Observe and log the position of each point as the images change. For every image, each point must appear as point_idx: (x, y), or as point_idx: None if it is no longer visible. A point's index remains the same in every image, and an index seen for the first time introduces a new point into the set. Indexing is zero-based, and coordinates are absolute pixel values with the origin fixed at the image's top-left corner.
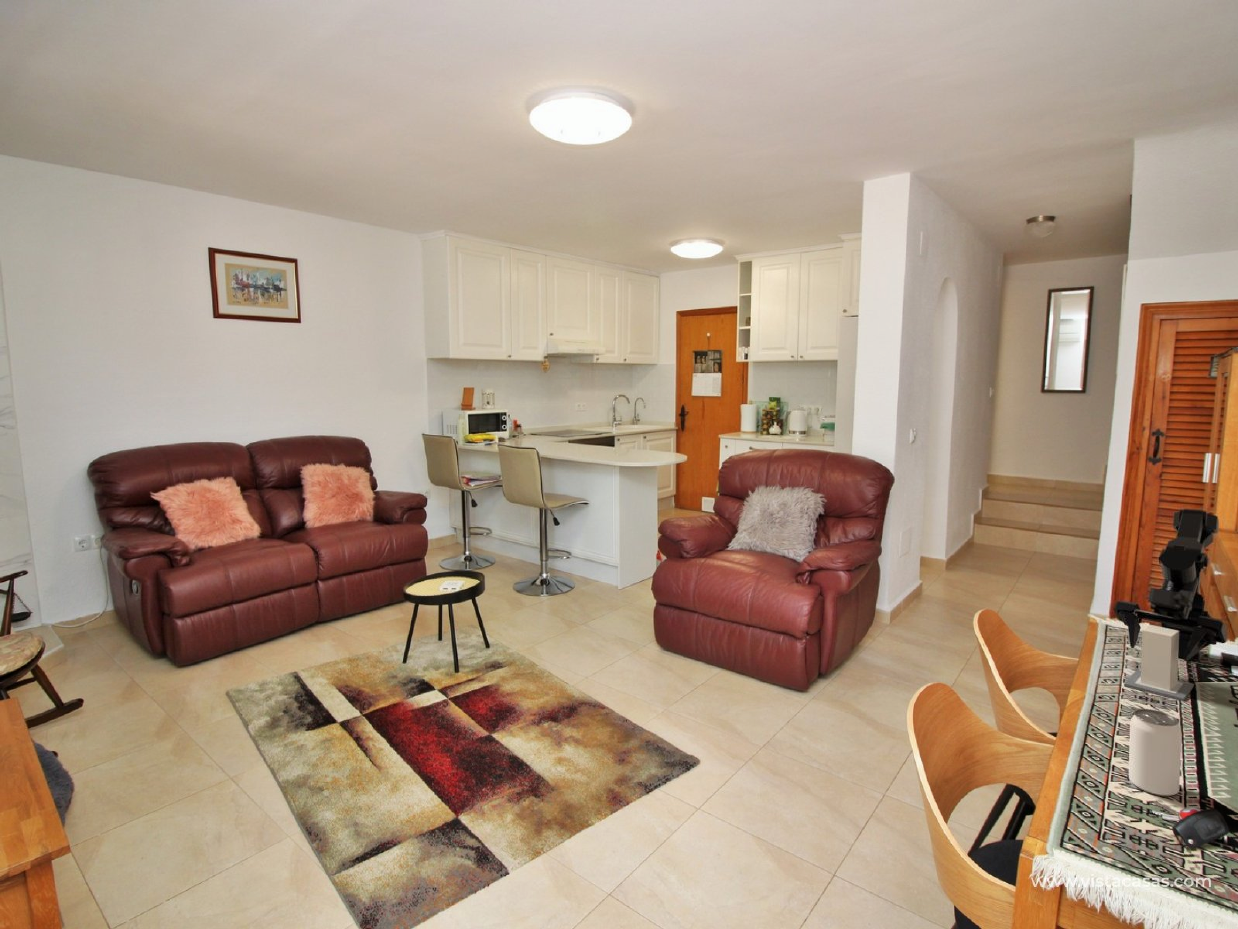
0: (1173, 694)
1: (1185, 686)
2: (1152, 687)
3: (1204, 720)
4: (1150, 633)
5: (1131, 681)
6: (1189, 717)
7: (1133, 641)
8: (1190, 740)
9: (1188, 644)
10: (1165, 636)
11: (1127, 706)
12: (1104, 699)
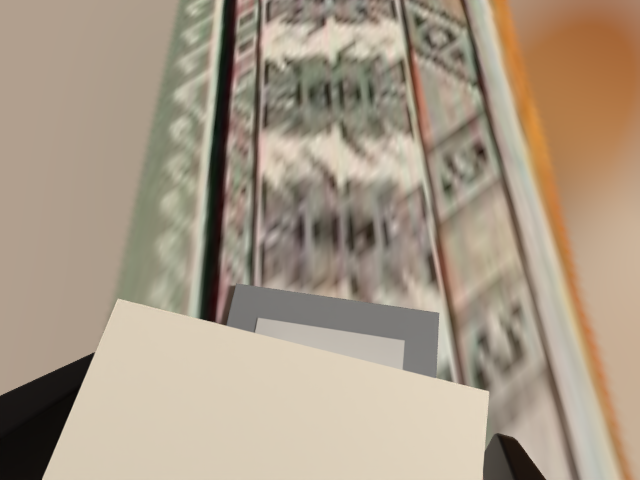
0: (266, 305)
1: None
2: (337, 333)
3: (197, 162)
4: (367, 363)
5: (418, 362)
6: (233, 159)
7: (514, 474)
8: (243, 26)
9: (10, 422)
10: (190, 321)
11: (393, 131)
12: (463, 143)
